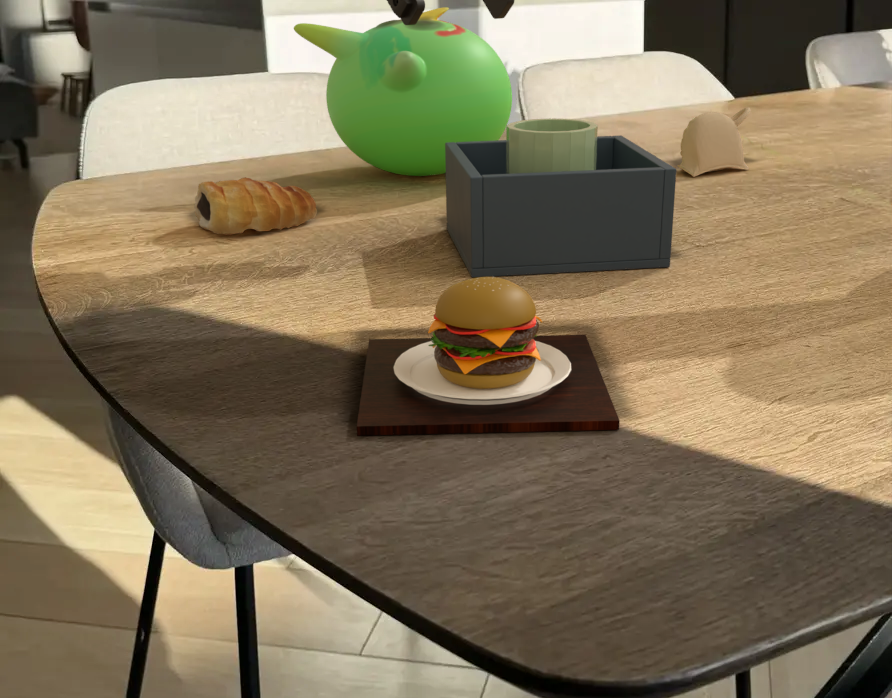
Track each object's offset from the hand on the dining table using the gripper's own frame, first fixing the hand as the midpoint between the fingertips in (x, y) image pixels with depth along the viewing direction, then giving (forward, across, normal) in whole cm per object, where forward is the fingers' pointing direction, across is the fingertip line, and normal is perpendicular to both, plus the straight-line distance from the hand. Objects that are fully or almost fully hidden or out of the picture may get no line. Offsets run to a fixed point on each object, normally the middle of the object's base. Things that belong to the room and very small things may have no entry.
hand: (462, 13), depth 81 cm
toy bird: (-2, +10, +24) cm, 26 cm away
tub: (+17, 0, +4) cm, 18 cm away
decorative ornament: (+11, +31, +11) cm, 35 cm away
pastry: (+3, -12, +19) cm, 23 cm away
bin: (+18, 0, +4) cm, 18 cm away
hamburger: (+30, -22, -8) cm, 38 cm away
